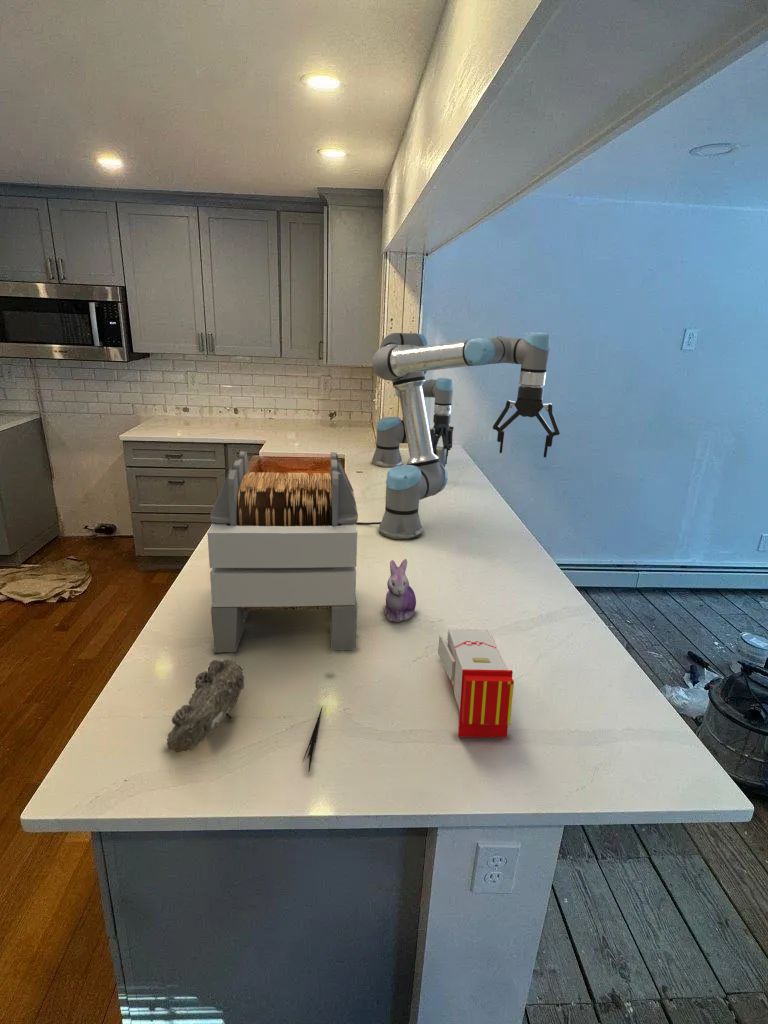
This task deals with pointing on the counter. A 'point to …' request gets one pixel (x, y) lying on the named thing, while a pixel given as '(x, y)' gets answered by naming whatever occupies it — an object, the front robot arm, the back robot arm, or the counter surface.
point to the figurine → (399, 594)
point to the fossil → (206, 705)
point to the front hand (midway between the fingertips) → (522, 454)
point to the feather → (313, 740)
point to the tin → (441, 454)
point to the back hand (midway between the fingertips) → (438, 464)
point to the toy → (478, 682)
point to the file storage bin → (283, 549)
